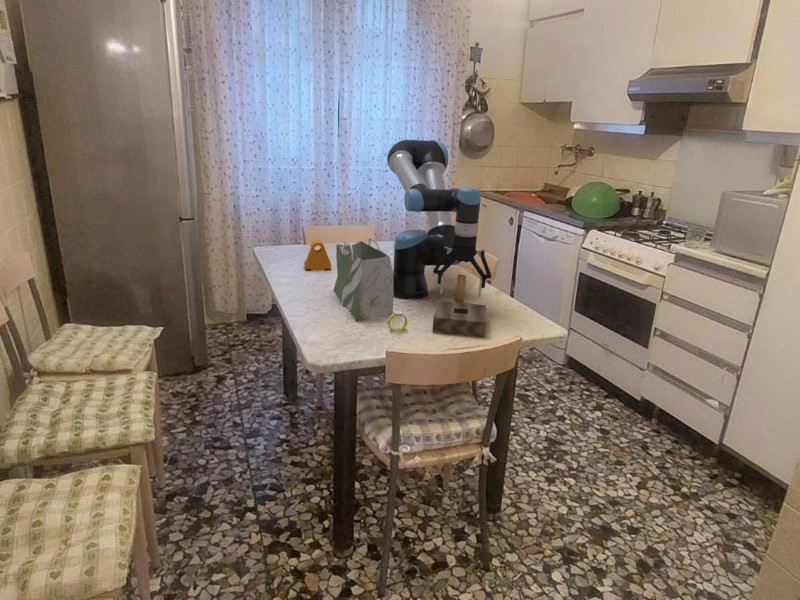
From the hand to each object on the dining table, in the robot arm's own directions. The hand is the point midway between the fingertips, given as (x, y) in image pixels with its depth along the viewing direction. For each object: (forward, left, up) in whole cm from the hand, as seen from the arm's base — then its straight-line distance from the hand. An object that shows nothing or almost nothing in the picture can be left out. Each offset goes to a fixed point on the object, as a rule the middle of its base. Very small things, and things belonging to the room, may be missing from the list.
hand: (460, 294), depth 184 cm
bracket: (-62, +33, -5) cm, 70 cm away
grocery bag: (-35, -5, -5) cm, 35 cm away
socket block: (+1, -16, -5) cm, 17 cm away
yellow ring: (-18, -25, -5) cm, 31 cm away
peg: (0, 0, -5) cm, 5 cm away
